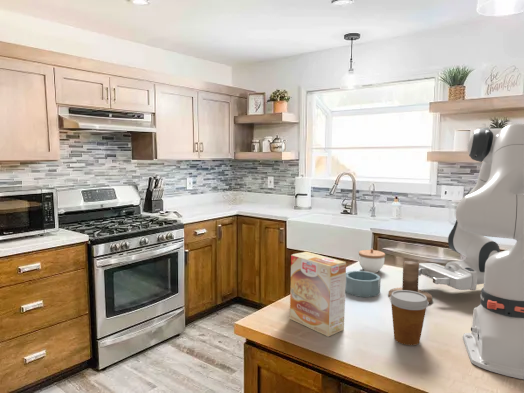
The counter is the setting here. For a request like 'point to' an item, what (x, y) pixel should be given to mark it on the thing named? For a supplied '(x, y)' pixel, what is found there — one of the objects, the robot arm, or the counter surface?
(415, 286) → the lid
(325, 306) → the coffeecake box
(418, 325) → the disposable coffee cup
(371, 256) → the lidded jar
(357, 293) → the bowl
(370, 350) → the counter surface
